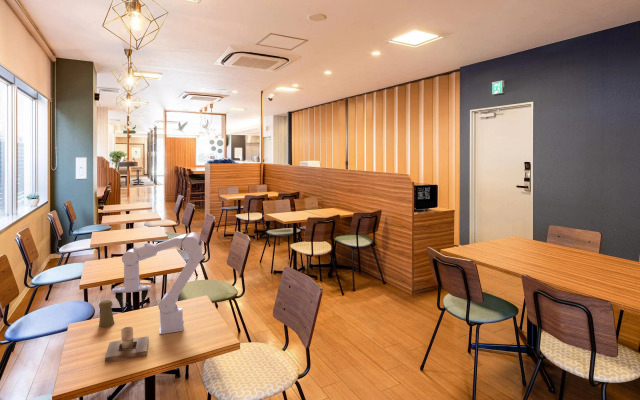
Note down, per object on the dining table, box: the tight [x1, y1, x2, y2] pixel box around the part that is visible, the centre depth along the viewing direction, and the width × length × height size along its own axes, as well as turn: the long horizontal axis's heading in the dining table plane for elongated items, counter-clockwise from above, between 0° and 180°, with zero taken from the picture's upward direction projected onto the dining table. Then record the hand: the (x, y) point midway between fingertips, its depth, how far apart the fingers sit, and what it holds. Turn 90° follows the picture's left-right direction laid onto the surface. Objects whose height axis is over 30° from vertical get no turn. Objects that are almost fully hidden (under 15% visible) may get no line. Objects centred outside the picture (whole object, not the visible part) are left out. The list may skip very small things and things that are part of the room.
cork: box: [98, 299, 115, 329], centre depth 165 cm, size 6×6×11 cm
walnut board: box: [104, 335, 149, 364], centre depth 144 cm, size 14×12×2 cm
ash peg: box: [120, 326, 135, 351], centre depth 143 cm, size 4×4×9 cm
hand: (132, 308), depth 158 cm, fingers open, 7 cm apart
